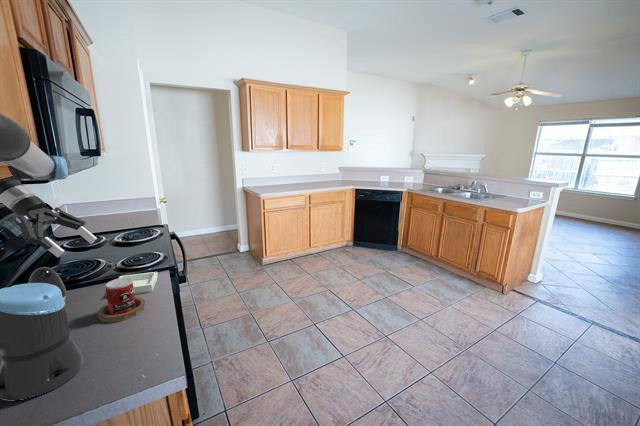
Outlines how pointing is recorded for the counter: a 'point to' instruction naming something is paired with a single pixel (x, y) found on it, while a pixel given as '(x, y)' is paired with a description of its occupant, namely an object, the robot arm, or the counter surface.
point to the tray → (143, 281)
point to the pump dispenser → (48, 278)
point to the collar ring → (121, 316)
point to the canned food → (120, 296)
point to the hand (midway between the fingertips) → (78, 247)
